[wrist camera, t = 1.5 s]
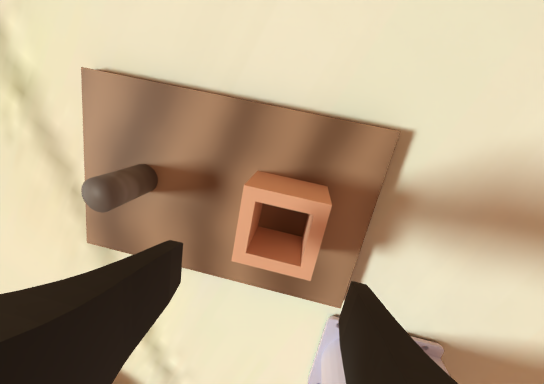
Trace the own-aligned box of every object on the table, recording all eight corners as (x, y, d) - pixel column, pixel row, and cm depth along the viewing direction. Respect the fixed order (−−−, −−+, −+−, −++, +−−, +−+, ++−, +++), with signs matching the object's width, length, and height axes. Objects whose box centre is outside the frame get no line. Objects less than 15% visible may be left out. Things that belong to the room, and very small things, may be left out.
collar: (327, 186, 18) (332, 205, 14) (310, 248, 19) (310, 281, 16) (257, 170, 18) (244, 185, 14) (246, 233, 20) (231, 261, 16)
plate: (395, 130, 17) (432, 136, 12) (339, 299, 21) (348, 359, 16) (92, 69, 19) (9, 51, 14) (96, 237, 23) (33, 272, 18)
